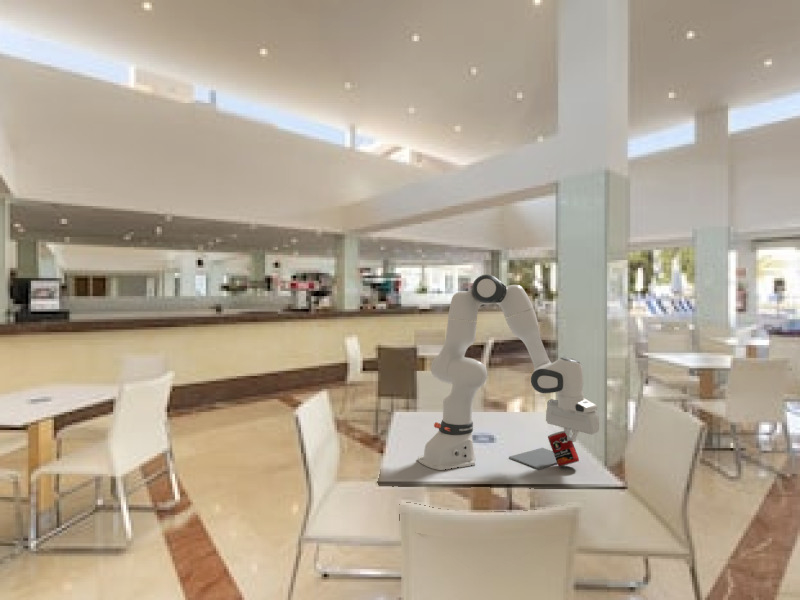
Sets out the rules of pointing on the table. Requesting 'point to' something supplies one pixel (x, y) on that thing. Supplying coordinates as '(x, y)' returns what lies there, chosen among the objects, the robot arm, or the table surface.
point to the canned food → (563, 449)
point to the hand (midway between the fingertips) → (571, 441)
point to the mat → (536, 458)
